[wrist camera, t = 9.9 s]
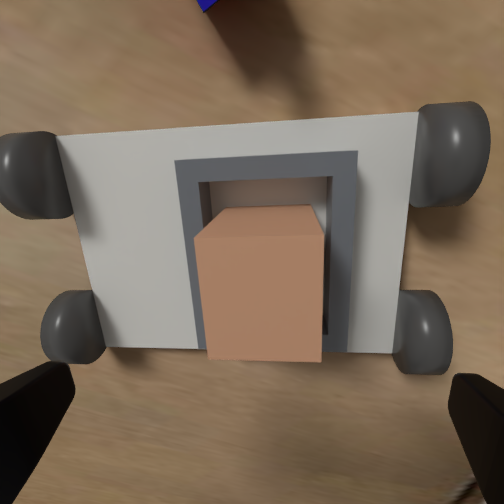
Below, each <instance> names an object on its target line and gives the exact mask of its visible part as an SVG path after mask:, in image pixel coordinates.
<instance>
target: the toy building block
mask: <svg viewBox="0 0 504 504" xmlns="http://www.w3.org/2000/svg"><path fill="white" fill-rule="evenodd" d="M218 1H219V0H197V2H198V4H199V6H200V7H201V9H202V11H203V13H205V12H206V11H207V10H208V9H209V8H211V7H212V6H213V5H214V4H215V3H217V2H218Z"/></svg>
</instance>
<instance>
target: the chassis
mask: <svg viewBox="0 0 504 504" xmlns="http://www.w3.org/2000/svg"><path fill="white" fill-rule="evenodd" d="M490 143H491V138H490V126H489V122H488V118H487V116H486V113H485V111H484V110H483V108H482V107H481V106H480V105H479V104H477V103H475V102H471V101H468V102H454V103H440V104H427V105H424V106H423V107H421V108H420V109H419V110H418V111H417V112H408V113H393V114H378V115H363V116H348V117H333V118H318V119H304V120H289V121H274V122H259V123H244V124H229V125H214V126H199V127H185V128H170V129H155V130H140V131H125V132H110V133H95V134H80V135H66V136H57V135H55V134H53V133H50V132H45V131H38V132H24V133H10V134H6V135H3V136H1V137H0V202H1V204H2V205H3V206H4V207H5V208H6V209H7V210H9V211H10V212H11V213H13V214H15V215H16V216H19V217H21V218H24V219H30V220H34V219H63V218H67V217H69V216H71V215H72V214H73V213H74V216H75V220H76V224H77V228H78V233H79V237H80V241H81V245H82V249H83V253H84V257H85V262H86V266H87V270H88V274H89V278H90V282H91V286H92V290H69V291H65V292H63V293H61V294H59V295H58V296H57V297H56V298H55V299H54V300H53V301H52V302H51V303H50V305H49V306H48V308H47V310H46V312H45V314H44V317H43V320H42V324H41V332H40V338H41V345H42V348H43V351H44V353H45V355H46V356H47V357H48V358H49V359H50V360H51V361H64V362H66V363H67V364H90V363H92V362H94V361H96V360H97V359H98V358H99V357H100V356H101V355H102V354H103V352H104V351H105V349H106V347H138V348H182V349H207V346H206V337H205V329H204V320H203V312H202V304H201V295H200V287H199V279H198V270H197V262H196V253H195V245H194V237H195V236H196V235H197V234H198V233H199V232H200V231H202V230H203V229H204V228H205V227H206V226H207V225H208V224H209V223H210V222H211V221H212V220H213V219H214V218H215V217H216V216H217V215H218V214H219V213H220V212H222V211H223V210H224V209H225V208H226V207H238V206H266V205H295V204H311V206H312V208H313V211H314V213H315V215H316V218H317V220H318V222H319V224H320V227H321V229H322V231H323V233H324V266H323V311H322V352H356V353H392V356H393V359H394V361H395V364H396V365H397V367H398V369H399V370H400V371H401V372H402V373H404V374H421V375H442V374H444V373H445V372H446V371H447V370H448V368H449V366H450V363H451V359H452V353H453V337H452V329H451V324H450V320H449V316H448V313H447V311H446V308H445V306H444V304H443V302H442V301H441V299H440V298H439V296H438V295H437V294H436V293H434V292H433V291H431V290H399V286H400V277H401V268H402V259H403V250H404V241H405V231H406V222H407V213H408V204H409V203H410V204H411V205H412V206H414V207H445V206H459V205H462V204H464V203H465V202H466V201H468V200H469V199H470V198H471V197H472V196H473V194H474V193H475V192H476V190H477V189H478V187H479V185H480V183H481V181H482V179H483V176H484V174H485V171H486V167H487V164H488V159H489V153H490Z"/></svg>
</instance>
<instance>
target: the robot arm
mask: <svg viewBox="0 0 504 504" xmlns="http://www.w3.org/2000/svg"><path fill="white" fill-rule="evenodd" d="M74 395H75V384H74V381H73V377H72V374H71V371H70V367H69V365H68V364H67V363H66V362H64V361H49V362H46V363H44V364H41V365H39V366H37V367H35V368H33V369H31V370H29V371H27V372H24V373H22V374H20V375H18V376H16V377H14V378H12V379H10V380H7V381H5V382H3V383H1V384H0V504H12V503H13V502H14V500H15V499H16V497H17V495H18V494H19V492H20V491H21V489H22V488H23V486H24V485H25V483H26V482H27V480H28V478H29V477H30V475H31V474H32V472H33V471H34V469H35V467H36V466H37V464H38V462H39V461H40V459H41V457H42V455H43V454H44V452H45V450H46V448H47V446H48V445H49V443H50V441H51V439H52V437H53V435H54V433H55V432H56V430H57V428H58V426H59V424H60V422H61V421H62V419H63V417H64V415H65V413H66V411H67V409H68V408H69V406H70V404H71V402H72V400H73V398H74ZM448 410H449V414H450V417H451V419H452V422H453V424H454V427H455V429H456V432H457V434H458V437H459V439H460V441H461V444H462V446H463V449H464V451H465V454H466V456H467V459H468V461H469V464H470V466H471V468H472V471H473V473H474V476H475V478H476V481H477V483H478V485H479V488H480V490H481V492H482V495H483V497H484V499H485V501H486V503H487V504H504V389H502V388H501V387H499V386H497V385H496V384H494V383H492V382H490V381H489V380H487V379H485V378H484V377H482V376H480V375H478V374H474V373H457V374H455V375H454V377H453V379H452V385H451V390H450V395H449V400H448Z"/></svg>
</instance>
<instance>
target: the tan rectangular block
mask: <svg viewBox="0 0 504 504" xmlns="http://www.w3.org/2000/svg"><path fill="white" fill-rule="evenodd" d="M194 245H195V253H196V262H197V270H198V279H199V287H200V295H201V304H202V312H203V320H204V329H205V337H206V346H207V354H208V359H214V360H252V361H290V362H321V357H322V311H323V266H324V233H323V231H322V229H321V227H320V224H319V222H318V220H317V218H316V215H315V213H314V211H313V208H312V206H311V204H295V205H266V206H238V207H226V208H225V209H224V210H223V211H222V212H220V213H219V214H218V215H217V216H216V217H215V218H214V219H213V220H212V221H211V222H210V223H209V224H208V225H207V226H206V227H205V228H204V229H203V230H202V231H200V232H199V233H198V234H197V235H196V236H195V237H194Z"/></svg>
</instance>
